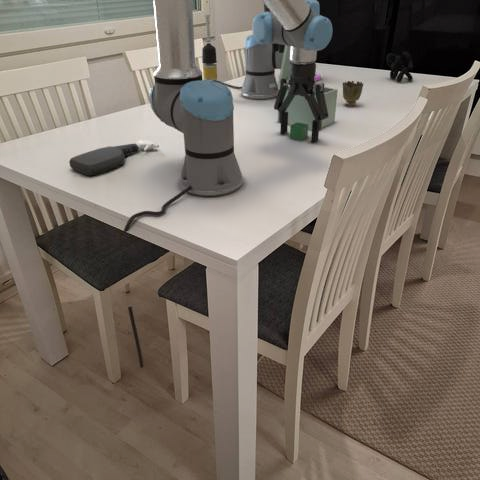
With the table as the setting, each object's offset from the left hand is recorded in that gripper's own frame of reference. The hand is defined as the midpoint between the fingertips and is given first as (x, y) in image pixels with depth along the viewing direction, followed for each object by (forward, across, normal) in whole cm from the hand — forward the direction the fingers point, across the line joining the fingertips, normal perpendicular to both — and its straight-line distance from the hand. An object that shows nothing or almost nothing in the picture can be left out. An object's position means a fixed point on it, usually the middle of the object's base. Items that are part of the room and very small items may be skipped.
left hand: (298, 137), depth 138 cm
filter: (0, +54, -16) cm, 56 cm away
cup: (0, +6, -42) cm, 42 cm away
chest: (0, +7, -14) cm, 16 cm away
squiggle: (+1, +9, -91) cm, 92 cm away
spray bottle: (0, +29, +47) cm, 55 cm away
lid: (-19, +13, -14) cm, 27 cm away
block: (0, 0, 0) cm, 0 cm away
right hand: (-21, +20, -14) cm, 32 cm away
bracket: (0, +41, -67) cm, 79 cm away
